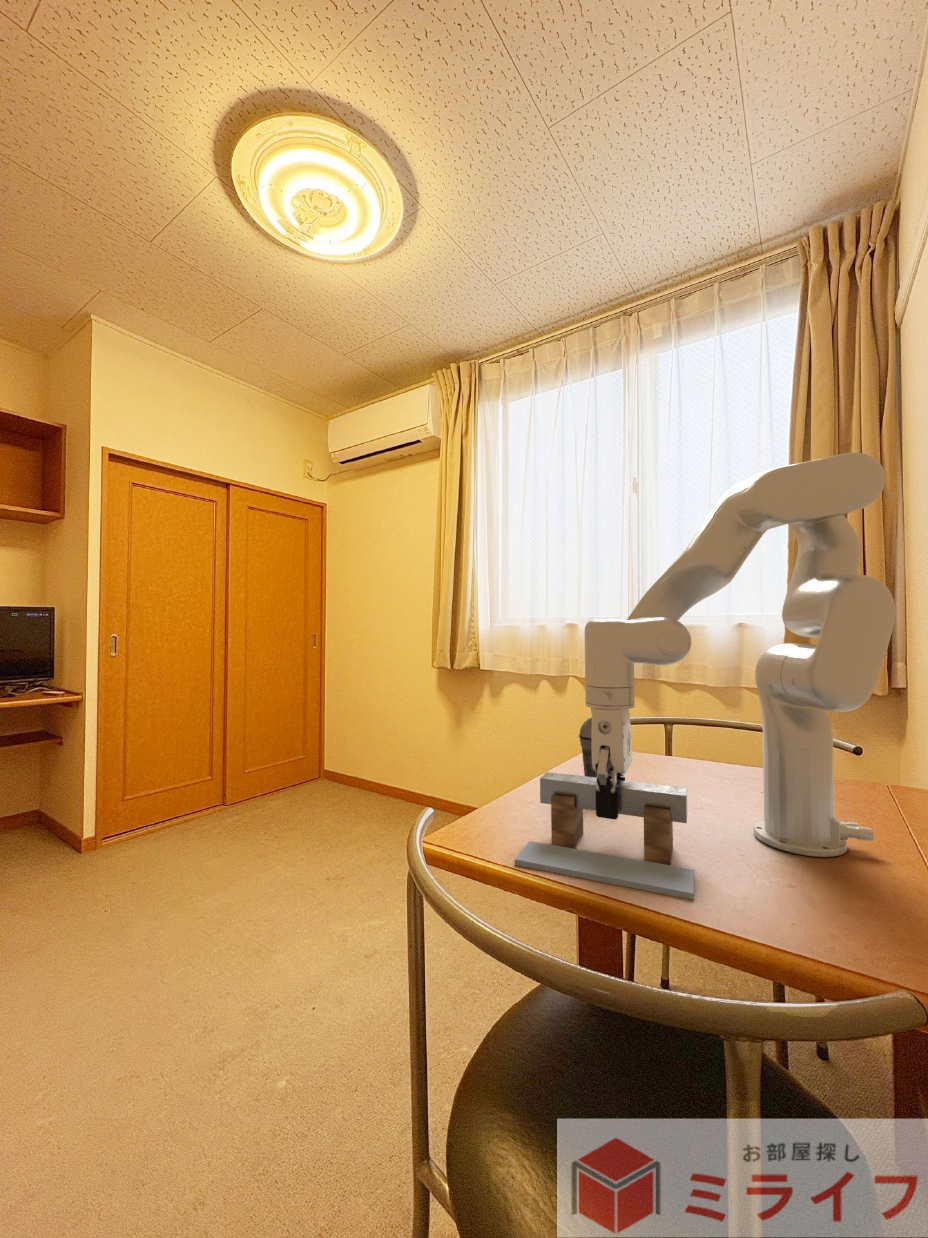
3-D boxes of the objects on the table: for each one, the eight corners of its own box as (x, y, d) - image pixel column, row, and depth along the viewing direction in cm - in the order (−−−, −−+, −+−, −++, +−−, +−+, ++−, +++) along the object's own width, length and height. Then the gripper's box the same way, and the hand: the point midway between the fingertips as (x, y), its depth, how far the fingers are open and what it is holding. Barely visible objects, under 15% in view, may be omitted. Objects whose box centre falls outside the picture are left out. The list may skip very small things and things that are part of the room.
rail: (687, 814, 79) (686, 787, 79) (686, 823, 75) (686, 795, 75) (547, 795, 88) (546, 772, 88) (540, 803, 84) (540, 778, 84)
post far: (583, 833, 87) (582, 786, 87) (574, 849, 81) (573, 799, 81) (562, 829, 88) (561, 784, 88) (551, 845, 82) (551, 796, 82)
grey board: (694, 875, 72) (694, 869, 72) (693, 900, 66) (693, 893, 66) (529, 846, 82) (529, 840, 82) (514, 864, 76) (514, 859, 76)
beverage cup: (609, 799, 103) (608, 699, 103) (574, 793, 107) (573, 697, 107) (619, 789, 109) (618, 695, 109) (586, 784, 113) (585, 693, 113)
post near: (672, 847, 81) (672, 797, 81) (670, 866, 75) (669, 812, 75) (648, 843, 82) (647, 794, 82) (644, 861, 76) (643, 808, 76)
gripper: (626, 706, 72) (628, 833, 72) (640, 691, 88) (642, 795, 88) (573, 703, 75) (575, 825, 75) (596, 689, 91) (597, 789, 91)
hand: (611, 808), depth 82 cm, fingers open, 7 cm apart
